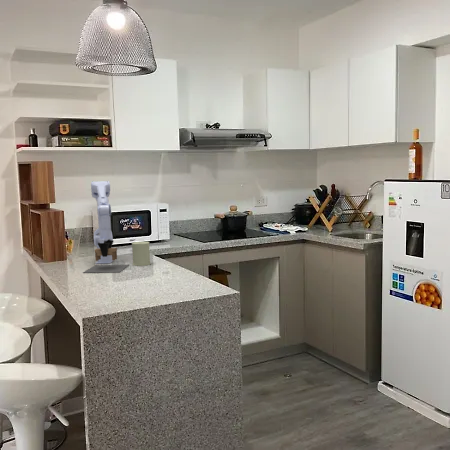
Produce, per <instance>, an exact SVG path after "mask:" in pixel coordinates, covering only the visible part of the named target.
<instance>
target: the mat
mask: <svg viewBox="0 0 450 450" xmlns="http://www.w3.org/2000/svg"><path fill="white" fill-rule="evenodd" d="M129 266H130V264H100V265H99V264H96V265H93V266H91V267H90V268H88V269H86V270H85V271H83V272H82V273H83V274H96V273H97V274H103V273H104V274H112V273H115V274H116V273H117V274H118V273H121V272H122V271H124V270H126V268H128V267H129Z"/></svg>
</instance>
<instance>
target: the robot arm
mask: <svg viewBox="0 0 450 450" xmlns="http://www.w3.org/2000/svg"><path fill="white" fill-rule="evenodd" d="M110 182H111V181H109V180H103V181H98V180H97V181H94V180H93V181H91V182H90V190H91V197H92V198H94V199H95V201H96V207H97V210H96V211H97V221H98V224H97V226H98V227H97V229H95V231H93V244H94V246H95V247H96V249H97V248H100V250H101V253H102V256H101V259H100V260H98V261H95V264H96V265H99V264H100V265H105V264H112V262H114V261H115V260H112V255H107V254H108V248H113V247H112V246H113V244H114V238H113V237H114V236H113V232H112V223H111V222H112V221H111V216H112V206H111V204H110V202H109V197H110V194H111V184H110Z"/></svg>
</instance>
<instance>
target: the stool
mask: <svg viewBox="0 0 450 450" xmlns="http://www.w3.org/2000/svg"><path fill="white" fill-rule="evenodd" d="M107 255H112V260H114V261H116V260H117V259H118V248H117V247H111V248H108V254H107ZM94 256H95V262H98V260H100V259H101V256H102V253H101V250H100V248H97V247H96V248H95V249H94Z"/></svg>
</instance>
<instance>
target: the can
mask: <svg viewBox="0 0 450 450" xmlns="http://www.w3.org/2000/svg"><path fill="white" fill-rule="evenodd" d="M131 249H132V266H133V267H134V266H135V267H145V266H150V265H151V258H150V257H151V256H150V251H151V250H150V241H135V242H131Z"/></svg>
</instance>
